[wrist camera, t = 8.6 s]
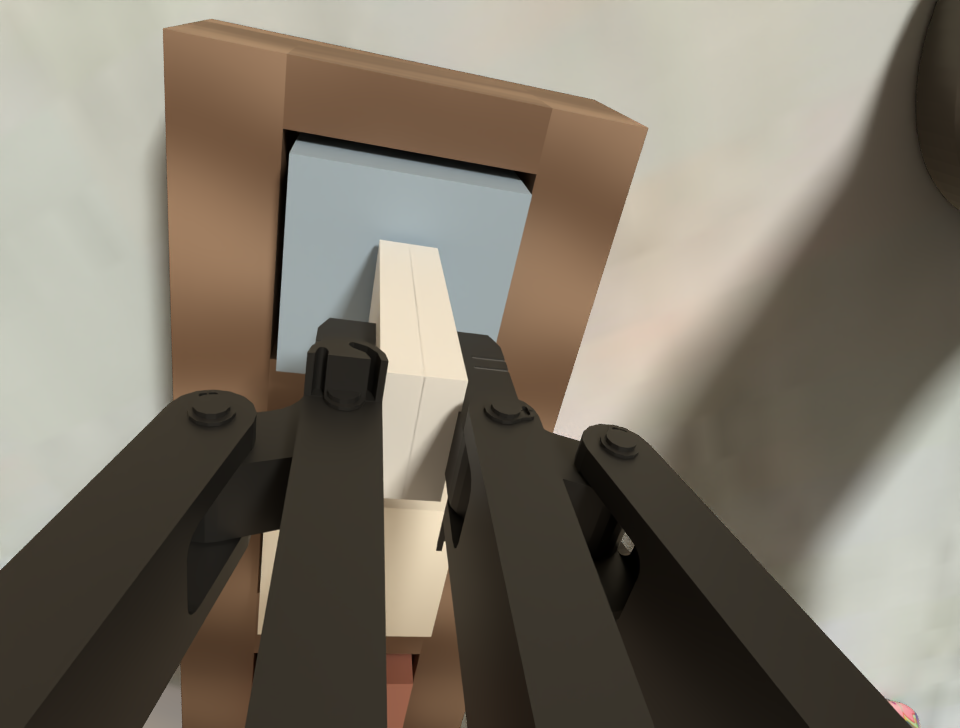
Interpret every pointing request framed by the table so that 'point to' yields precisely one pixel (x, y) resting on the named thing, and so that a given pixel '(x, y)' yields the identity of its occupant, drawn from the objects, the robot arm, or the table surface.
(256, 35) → the key panel
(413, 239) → the key blue
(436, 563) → the key cream
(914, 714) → the mug
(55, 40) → the table surface
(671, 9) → the table surface
